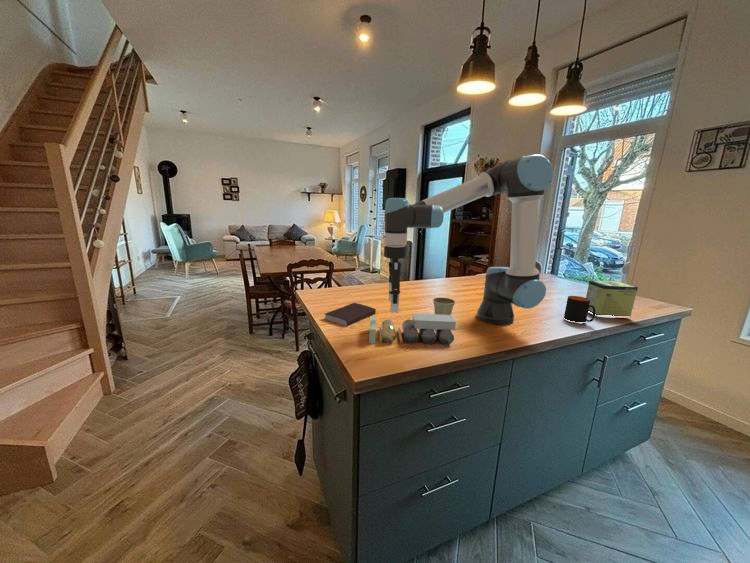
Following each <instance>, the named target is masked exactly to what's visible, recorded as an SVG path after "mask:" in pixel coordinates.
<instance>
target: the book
mask: <svg viewBox="0 0 750 563" xmlns="http://www.w3.org/2000/svg"><path fill="white" fill-rule="evenodd" d="M376 312H377V309H376V308H373V307H371V306H368V305H365V304H362V303H358V302H353V303H350V304H347V305H344V306H342V307H339V308H337V309H334V310H331V311H329V312H325V313H324V317H325V318H324V320H325V319H327V320H326V321H329V322H332V321H333V322H332V323H336V324H339V325H343V326H345V327H349V326H351V325H354V324H356V323H358V322H361V321H363V320H365V319H367V318H370V317H373V316H374V315H376Z"/></svg>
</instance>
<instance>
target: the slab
mask: <svg viewBox="0 0 750 563" xmlns="http://www.w3.org/2000/svg"><path fill="white" fill-rule="evenodd" d="M411 320H412V322H413V325H414V328H416V329H417V330H419V329H441V330H451V331H455V330H456V326H457V325H456V323H457V322H456V320H455V318H454V317H453V316H452V314H451V315H438V314H435V313H434V314H432V313H431V314H430V313H412V319H411Z"/></svg>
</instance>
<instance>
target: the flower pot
mask: <svg viewBox="0 0 750 563" xmlns="http://www.w3.org/2000/svg"><path fill="white" fill-rule="evenodd" d="M432 302H433V306H434V309H433V310H434V314H438V315H451V316H452V312H453V308H454V306H455V304H456V300H455V299H452V298H449V297H441V296H440V297H434V298H432Z"/></svg>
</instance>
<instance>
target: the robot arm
mask: <svg viewBox="0 0 750 563" xmlns="http://www.w3.org/2000/svg"><path fill="white" fill-rule="evenodd" d="M553 177H554V168H553V165H552V163H551V161H550V160H549V159H548V158H547V157H546V156H544V155H542V154H529V155H524V156H521V157H517V158H514V159H513V158H512V159H508V160H505V161H503V162H500V163H499V164H497V165H495V166H492V168H489V169H487V170H485V171H483V172H480V173H479V175H478V177H475V178H473V179H470V180H469V181H466V182H463V183H461V184H458V185H456V186H453V187H451V188H449V189H447V190H444V191H442V192H441V191H440V193H437V194H435V195H432V196H430V197H427V198H425V199H423V200H420V201H418V202H416V203H413V204H410V202H409V199H408V198H407V197H404V198H403V197H389V198H387V199H386V200H385V207H384V208H385V209H384V235H382V239H384V241H383V242H384V245H385V246H384V247H383V257H384V258H387V259H389V260H390V261H389V262H388V272H389V275H388V276H389V277H388V279H389V280H388V282H389V283H388V301H390V303H389V304H390V306H389V307H390V310H389V313H391V314H393V313H394V314H399V311H400V306H399V305H400V293H401V288H400V287H401V286H400V285H401V284H400V282H401V279H400V278H401V269H402V268H401V267H402V264H401V262H400V260H399V259H404V258H406V257H407V247H406V245H407V244H408V243H407V242H408V228H409V229H410V228H411V229H413V228H415V229H417V228H419V229H436V228H440V227H442V225H443V222H444V219H445V218H444V216H445V213H448V212H450V211H452V210H454V209H457V208H460V207H462V206H463V205H467V204H469V203H471V202H473V201H476V200H478V199H481V198H484V197H487V198H489V197H492V196H495V195H498V194H499V195H500V194H504V193H507V200H509V202H511V219H510V220H511V223H510V224H511V225H510V250H509V251H510V256H509V257H510V258H509V266H490V267H488V268H487V270H486V272H485V281H484V288H483V297H482V301H481V303H480V305H479V306H478V309H477V311H476V317H477V319H479V320H480V321H482V322H484V323H485V322H486V323H487V324H488V323H489V324H493V325H501V326H502V325H503V326H504V325H505V326H506V325H511V324H513V323H514V321H515V313H514V310H513V305H514V306H516V307H519V308H523V309H533V308H535V307H537V306H538V305H539V304H540V303H542V301H543V300H544V298H545V296H546V292H547V287H546V284H545V283H544V282H543V281H542V280H541V279H540V277H541V276H540V274H541V273H540V270H539V269H538V268H537V267H536V263H537V261H536V260H537V245H538V244H537V242H538V241H537V238H538V223H539V222H538V221H539V205H540V204H539V203H540V200H542V198H543V197H545V190H546V189H547V188H548V187H549V186H550V183H552V181H553Z"/></svg>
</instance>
